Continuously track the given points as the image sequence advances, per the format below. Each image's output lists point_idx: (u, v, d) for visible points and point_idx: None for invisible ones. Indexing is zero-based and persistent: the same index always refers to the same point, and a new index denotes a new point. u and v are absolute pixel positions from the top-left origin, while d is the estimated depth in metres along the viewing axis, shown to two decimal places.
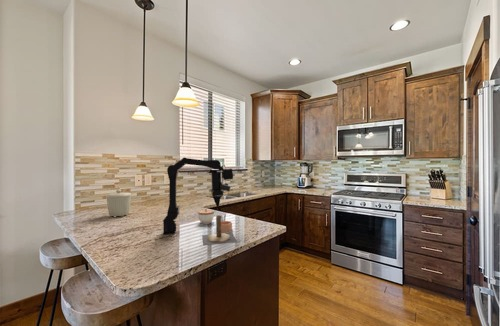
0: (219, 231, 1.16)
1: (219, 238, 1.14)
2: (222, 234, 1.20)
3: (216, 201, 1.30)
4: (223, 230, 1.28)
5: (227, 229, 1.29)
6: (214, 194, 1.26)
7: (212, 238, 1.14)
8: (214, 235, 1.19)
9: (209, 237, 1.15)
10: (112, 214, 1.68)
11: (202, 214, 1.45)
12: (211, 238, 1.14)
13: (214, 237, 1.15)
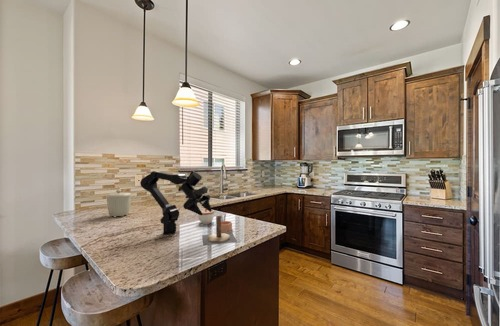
0: (219, 231, 1.16)
1: (219, 238, 1.14)
2: (222, 234, 1.20)
3: (195, 211, 1.16)
4: (223, 230, 1.28)
5: (227, 229, 1.29)
6: (185, 207, 1.14)
7: (212, 238, 1.14)
8: (214, 235, 1.19)
9: (209, 237, 1.15)
10: (112, 214, 1.68)
11: (202, 214, 1.45)
12: (211, 238, 1.14)
13: (214, 237, 1.15)
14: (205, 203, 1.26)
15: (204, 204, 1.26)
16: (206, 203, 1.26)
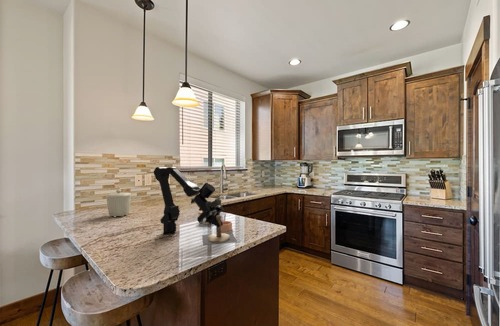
0: (219, 231, 1.16)
1: (219, 238, 1.14)
2: (222, 234, 1.20)
3: (213, 223, 1.15)
4: (223, 230, 1.28)
5: (227, 229, 1.29)
6: (199, 220, 1.10)
7: (212, 238, 1.14)
8: (214, 235, 1.19)
9: (209, 237, 1.15)
10: (112, 214, 1.68)
11: None
12: (211, 238, 1.14)
13: (214, 237, 1.15)
14: None
15: (215, 217, 1.20)
16: None
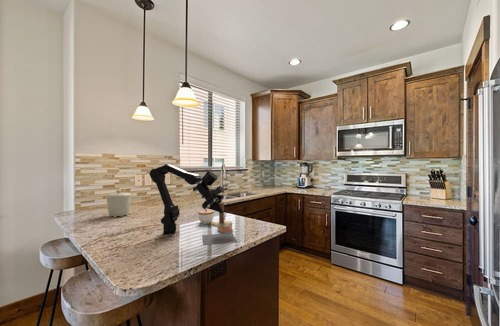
0: (222, 217, 1.20)
1: (223, 224, 1.18)
2: (224, 220, 1.24)
3: (217, 209, 1.19)
4: (223, 230, 1.28)
5: (227, 229, 1.29)
6: (204, 207, 1.13)
7: (216, 224, 1.18)
8: (216, 221, 1.22)
9: (212, 223, 1.19)
10: (112, 214, 1.68)
11: (202, 214, 1.45)
12: (215, 224, 1.18)
13: (217, 223, 1.19)
14: (218, 203, 1.23)
15: None
16: None
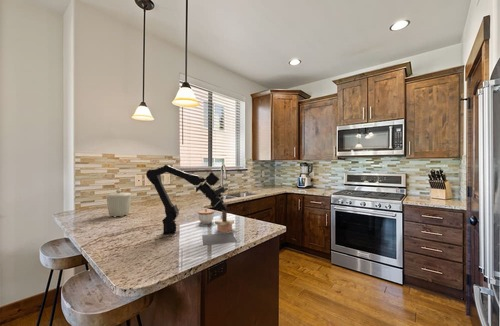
0: (225, 216, 1.32)
1: (227, 222, 1.30)
2: None
3: (221, 207, 1.28)
4: (223, 230, 1.28)
5: (227, 229, 1.29)
6: (213, 205, 1.23)
7: (221, 222, 1.29)
8: (219, 221, 1.33)
9: (217, 222, 1.29)
10: (112, 214, 1.68)
11: (202, 214, 1.45)
12: (220, 223, 1.28)
13: (221, 222, 1.30)
14: None
15: None
16: (221, 201, 1.36)
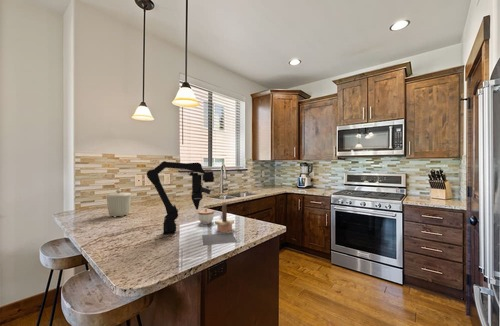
0: (225, 216, 1.32)
1: (227, 222, 1.30)
2: None
3: (195, 204, 1.30)
4: (223, 230, 1.28)
5: (227, 229, 1.29)
6: (193, 197, 1.26)
7: (221, 222, 1.29)
8: (219, 221, 1.33)
9: (217, 222, 1.29)
10: (112, 214, 1.68)
11: (202, 214, 1.45)
12: (220, 223, 1.28)
13: (221, 222, 1.30)
14: None
15: None
16: None
